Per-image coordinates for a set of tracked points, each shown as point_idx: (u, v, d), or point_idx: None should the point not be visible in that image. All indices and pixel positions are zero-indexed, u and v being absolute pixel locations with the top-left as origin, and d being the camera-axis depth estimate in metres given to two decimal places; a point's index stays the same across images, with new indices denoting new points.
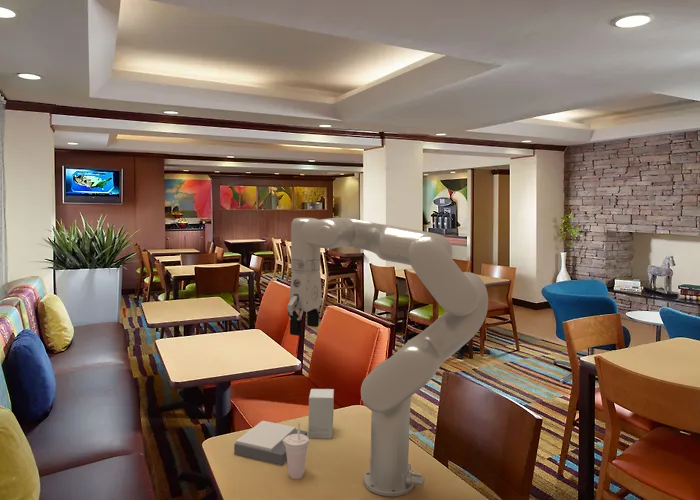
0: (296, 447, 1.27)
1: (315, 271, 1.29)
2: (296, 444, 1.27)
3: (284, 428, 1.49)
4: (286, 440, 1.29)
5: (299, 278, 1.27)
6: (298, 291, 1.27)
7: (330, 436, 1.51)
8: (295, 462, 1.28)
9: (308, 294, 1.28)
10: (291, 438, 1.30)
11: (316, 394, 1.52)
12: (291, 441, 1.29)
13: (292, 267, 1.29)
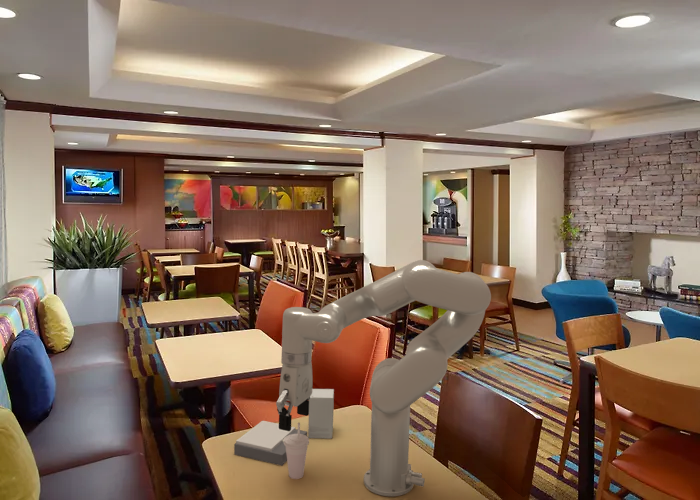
0: (296, 447, 1.27)
1: (306, 364, 1.25)
2: (296, 444, 1.27)
3: None
4: (286, 440, 1.29)
5: (289, 373, 1.23)
6: (288, 386, 1.23)
7: (330, 436, 1.51)
8: (295, 462, 1.28)
9: (298, 389, 1.24)
10: (291, 438, 1.30)
11: (316, 394, 1.52)
12: (291, 441, 1.29)
13: (282, 359, 1.26)
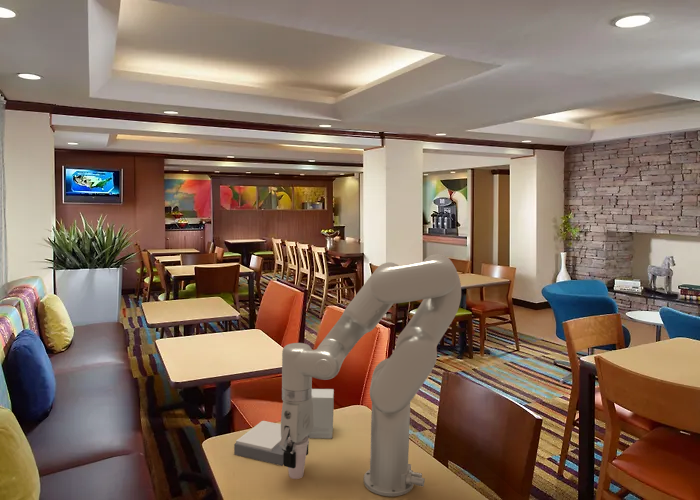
0: (296, 447, 1.27)
1: (306, 401, 1.26)
2: (296, 444, 1.27)
3: None
4: None
5: (290, 410, 1.24)
6: (289, 423, 1.24)
7: (330, 436, 1.51)
8: None
9: (299, 425, 1.25)
10: None
11: (316, 394, 1.52)
12: None
13: (283, 396, 1.27)
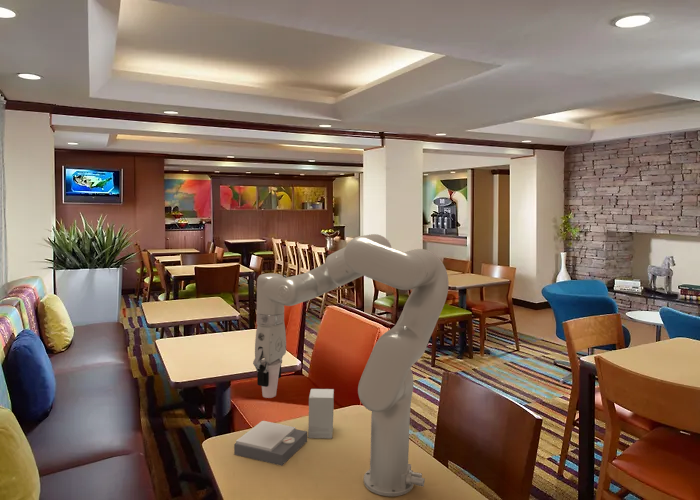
0: (269, 368, 1.38)
1: (279, 325, 1.38)
2: (269, 364, 1.39)
3: (284, 428, 1.49)
4: None
5: (263, 332, 1.36)
6: (262, 344, 1.36)
7: (330, 436, 1.51)
8: None
9: (272, 347, 1.37)
10: None
11: (316, 394, 1.52)
12: (264, 363, 1.40)
13: (257, 321, 1.38)
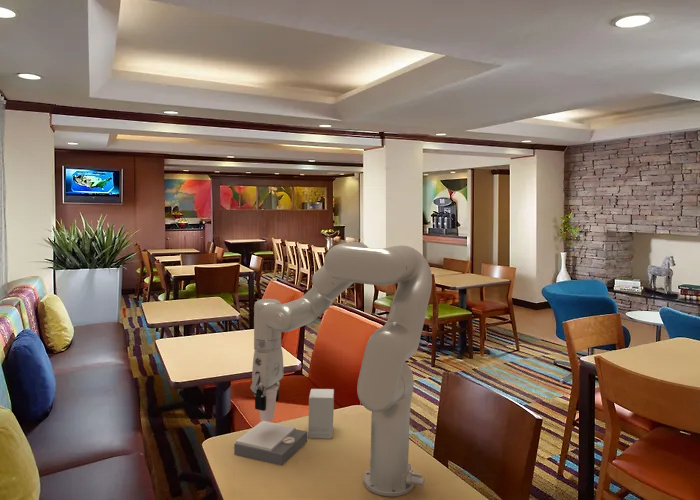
0: (266, 392, 1.41)
1: (276, 350, 1.40)
2: (266, 389, 1.41)
3: (284, 428, 1.49)
4: None
5: (260, 357, 1.38)
6: (259, 369, 1.38)
7: (330, 436, 1.51)
8: (266, 405, 1.42)
9: (269, 372, 1.39)
10: None
11: (316, 394, 1.52)
12: (262, 387, 1.42)
13: (255, 346, 1.40)
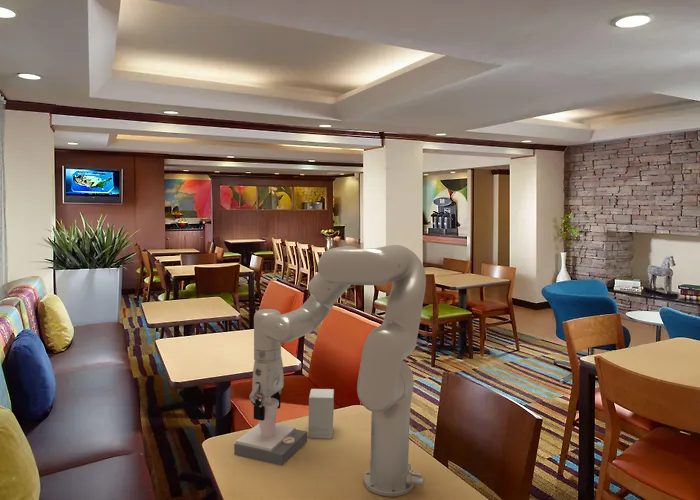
0: (267, 408, 1.41)
1: (276, 360, 1.40)
2: (267, 405, 1.41)
3: (284, 428, 1.49)
4: None
5: (260, 368, 1.38)
6: (260, 379, 1.38)
7: (330, 436, 1.51)
8: (266, 422, 1.42)
9: (269, 382, 1.39)
10: None
11: (316, 394, 1.52)
12: None
13: (255, 356, 1.41)
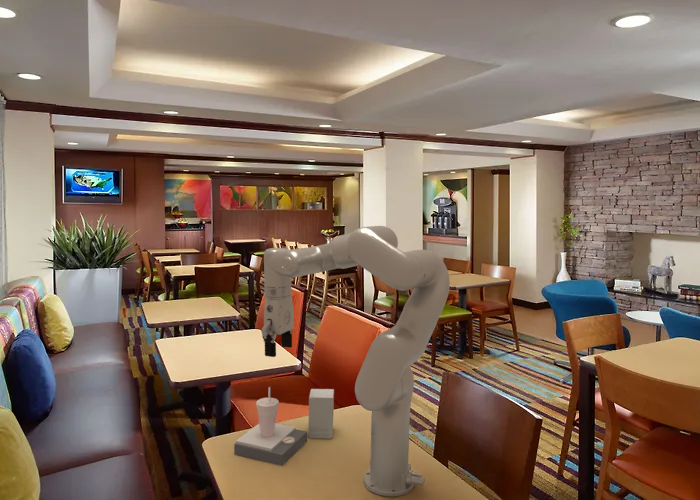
0: (266, 408, 1.41)
1: (286, 297, 1.40)
2: (267, 405, 1.41)
3: (284, 428, 1.49)
4: (258, 402, 1.43)
5: (272, 304, 1.38)
6: (271, 316, 1.38)
7: (330, 436, 1.51)
8: (266, 422, 1.42)
9: (281, 319, 1.39)
10: (262, 401, 1.44)
11: (316, 394, 1.52)
12: (262, 403, 1.42)
13: (265, 294, 1.41)
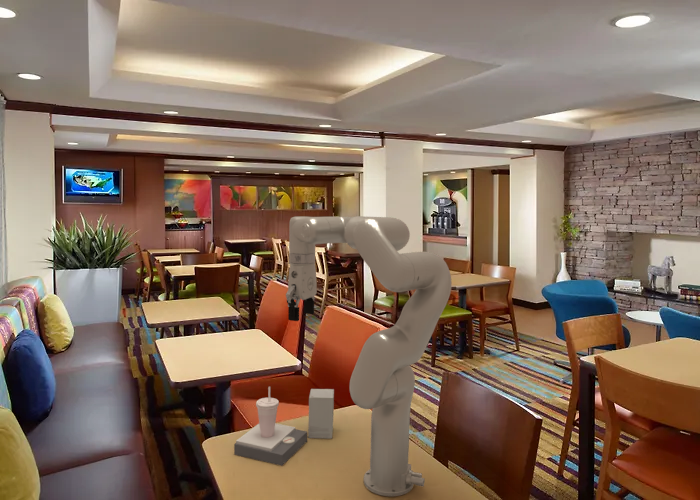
0: (266, 408, 1.41)
1: (310, 264, 1.45)
2: (267, 405, 1.41)
3: (284, 428, 1.49)
4: (258, 402, 1.43)
5: (296, 270, 1.43)
6: (295, 281, 1.43)
7: (330, 436, 1.51)
8: (266, 422, 1.42)
9: (305, 284, 1.44)
10: (262, 401, 1.44)
11: (316, 394, 1.52)
12: (262, 403, 1.43)
13: (290, 260, 1.45)
